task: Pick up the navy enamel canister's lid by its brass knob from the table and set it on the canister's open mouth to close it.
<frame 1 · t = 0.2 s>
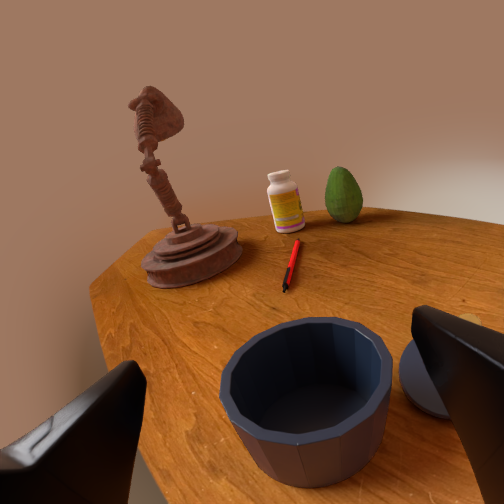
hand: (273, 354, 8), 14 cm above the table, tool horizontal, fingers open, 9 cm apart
supplement bottle: (291, 229, 64), on the table
pen: (293, 263, 47), on the table
canister lid: (456, 367, 18), point 1 cm above the table
desk lamp: (194, 260, 60), on the table
canister: (316, 430, 18), on the table
fruit: (347, 222, 59), on the table
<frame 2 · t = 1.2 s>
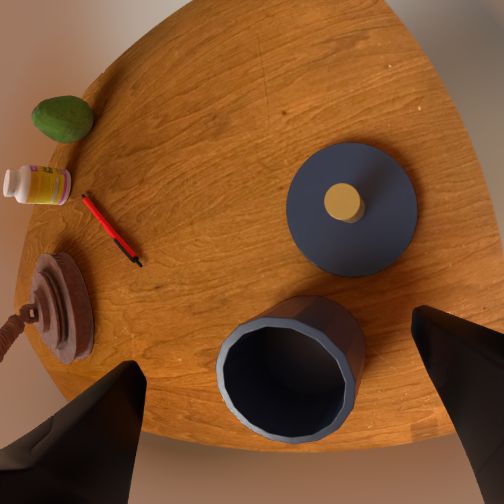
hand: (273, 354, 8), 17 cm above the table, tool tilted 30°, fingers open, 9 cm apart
supplement bottle: (65, 187, 44), on the table
pen: (109, 224, 37), on the table
canister lid: (351, 208, 22), point 1 cm above the table
desk lamp: (64, 303, 46), on the table
canister: (309, 350, 25), on the table
fruit: (91, 125, 40), on the table
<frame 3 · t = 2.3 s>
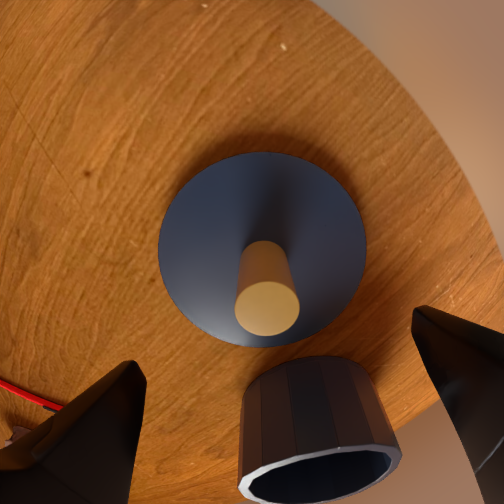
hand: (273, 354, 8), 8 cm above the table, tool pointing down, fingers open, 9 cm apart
pen: (27, 391, 22), on the table
canister lid: (263, 259, 15), point 1 cm above the table
canister: (308, 403, 20), on the table
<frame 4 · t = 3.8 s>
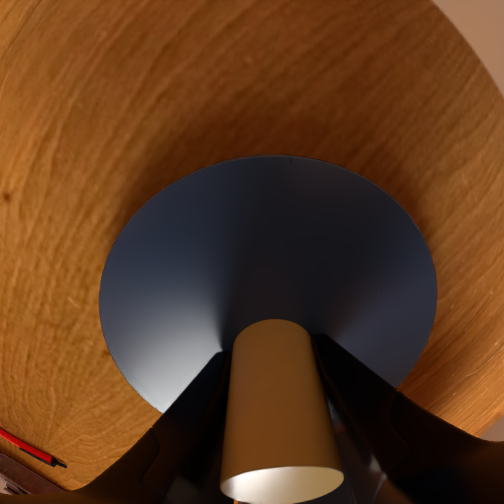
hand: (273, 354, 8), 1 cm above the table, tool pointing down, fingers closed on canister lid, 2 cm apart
pen: (3, 428, 16), on the table
canister lid: (272, 341, 9), point 1 cm above the table, touching gripper
desk lamp: (46, 488, 23), on the table
canister: (322, 475, 13), on the table
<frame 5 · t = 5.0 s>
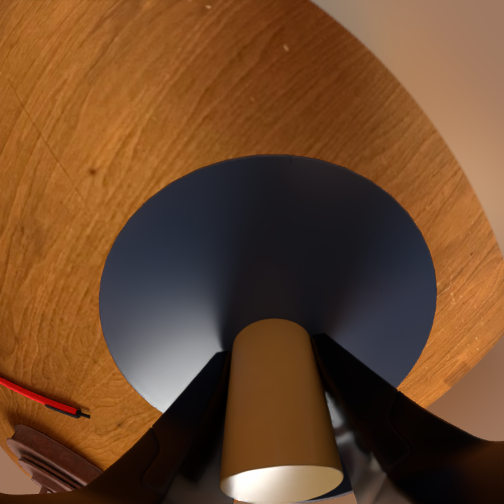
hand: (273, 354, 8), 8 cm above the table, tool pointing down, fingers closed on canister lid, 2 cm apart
pen: (29, 389, 22), on the table
canister lid: (271, 340, 9), point 8 cm above the table, touching gripper
desk lamp: (59, 460, 30), on the table
canister: (310, 400, 20), on the table
when the fingers open (8 cm above the table, at t = 7.4 s): canister lid stays where it is, resting on canister.
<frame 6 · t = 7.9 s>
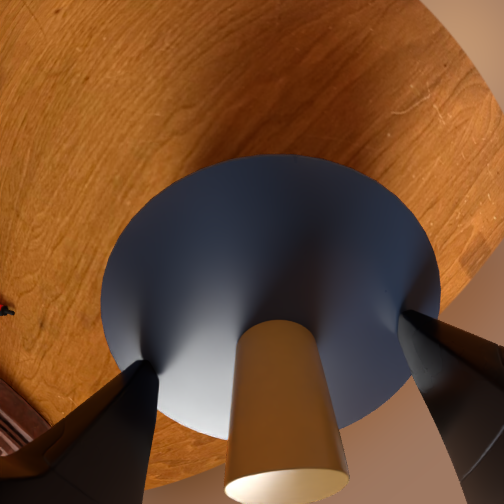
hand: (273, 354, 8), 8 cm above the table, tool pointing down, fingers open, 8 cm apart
canister lid: (275, 341, 9), point 7 cm above the table, touching canister
desk lamp: (9, 413, 26), on the table
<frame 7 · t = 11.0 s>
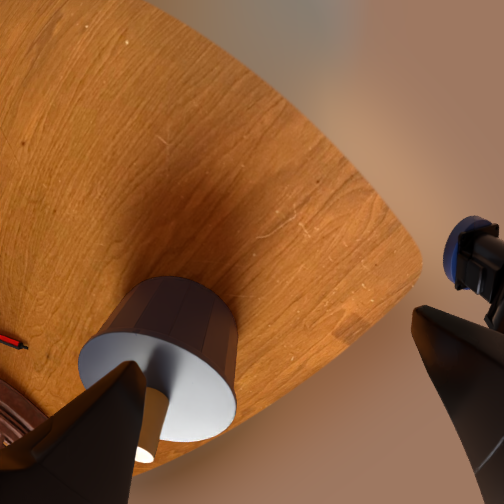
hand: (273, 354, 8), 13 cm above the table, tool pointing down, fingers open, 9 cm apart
canister lid: (153, 393, 16), point 7 cm above the table, touching canister
desk lamp: (20, 415, 33), on the table
canister: (177, 330, 23), on the table
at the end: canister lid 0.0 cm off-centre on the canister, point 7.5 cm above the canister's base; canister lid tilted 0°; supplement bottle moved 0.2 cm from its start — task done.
